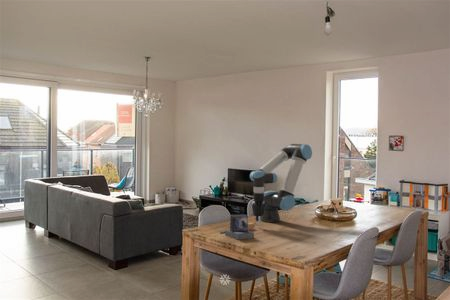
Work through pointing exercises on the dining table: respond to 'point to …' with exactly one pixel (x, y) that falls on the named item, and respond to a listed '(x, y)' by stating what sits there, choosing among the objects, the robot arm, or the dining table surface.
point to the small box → (239, 223)
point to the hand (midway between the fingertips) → (258, 225)
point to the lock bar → (251, 226)
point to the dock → (239, 234)
